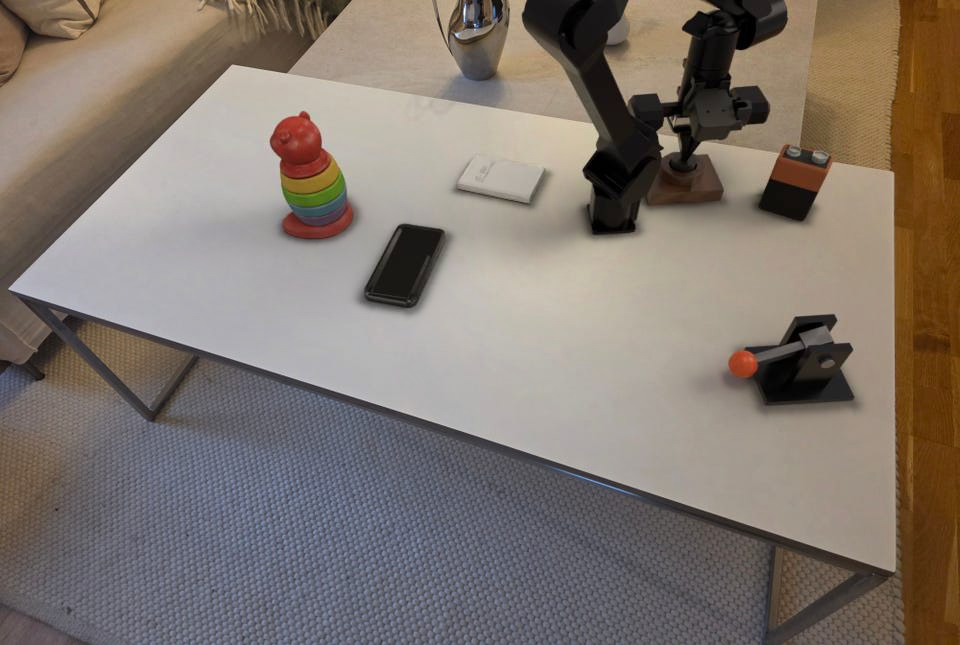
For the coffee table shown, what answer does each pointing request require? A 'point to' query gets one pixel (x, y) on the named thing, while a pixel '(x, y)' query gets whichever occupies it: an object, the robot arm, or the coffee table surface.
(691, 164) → the button
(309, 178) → the stacking bear
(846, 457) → the coffee table surface
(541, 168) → the hard drive
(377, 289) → the phone
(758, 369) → the switch bracket
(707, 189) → the button block
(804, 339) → the switch lever
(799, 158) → the battery
